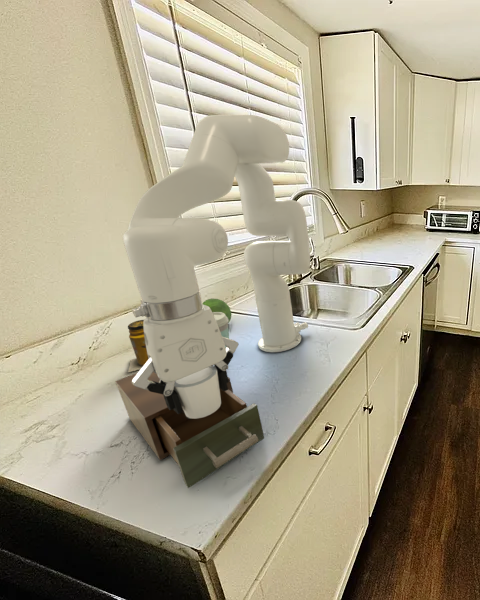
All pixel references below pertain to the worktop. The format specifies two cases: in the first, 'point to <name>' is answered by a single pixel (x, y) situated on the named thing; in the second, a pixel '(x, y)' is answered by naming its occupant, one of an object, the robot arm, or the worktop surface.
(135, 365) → the condiment
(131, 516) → the worktop surface
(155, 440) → the cabinet
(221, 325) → the coffee cup
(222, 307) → the fruit
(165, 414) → the drawer
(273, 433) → the worktop surface
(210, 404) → the white candle jar
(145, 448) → the worktop surface
